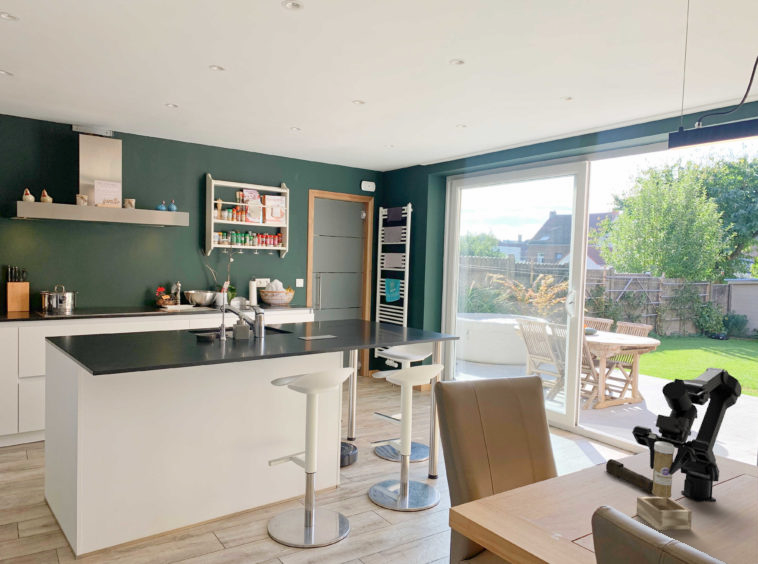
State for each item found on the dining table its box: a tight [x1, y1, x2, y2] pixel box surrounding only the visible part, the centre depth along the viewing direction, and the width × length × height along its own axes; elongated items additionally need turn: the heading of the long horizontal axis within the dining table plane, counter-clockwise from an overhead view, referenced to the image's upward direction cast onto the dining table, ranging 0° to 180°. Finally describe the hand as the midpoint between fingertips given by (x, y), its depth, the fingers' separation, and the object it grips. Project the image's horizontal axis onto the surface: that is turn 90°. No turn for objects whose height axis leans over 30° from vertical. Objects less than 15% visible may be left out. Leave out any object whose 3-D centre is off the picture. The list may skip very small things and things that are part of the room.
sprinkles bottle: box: [652, 441, 675, 498], centre depth 142 cm, size 5×5×14 cm
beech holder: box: [635, 496, 693, 531], centre depth 142 cm, size 9×9×4 cm
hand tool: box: [605, 458, 654, 495], centre depth 169 cm, size 19×4×5 cm, turn 18°
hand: (660, 471), depth 141 cm, fingers closed on sprinkles bottle, 4 cm apart
